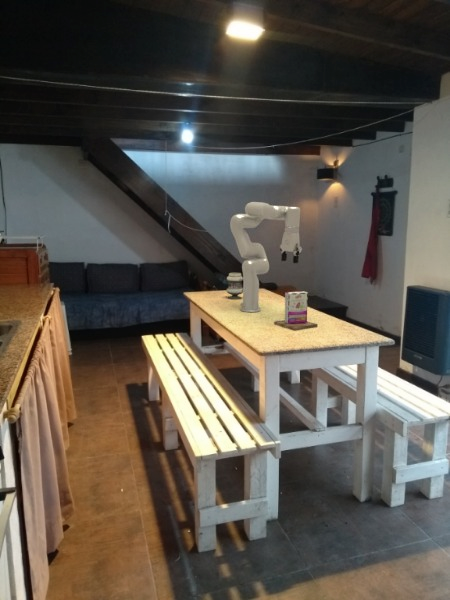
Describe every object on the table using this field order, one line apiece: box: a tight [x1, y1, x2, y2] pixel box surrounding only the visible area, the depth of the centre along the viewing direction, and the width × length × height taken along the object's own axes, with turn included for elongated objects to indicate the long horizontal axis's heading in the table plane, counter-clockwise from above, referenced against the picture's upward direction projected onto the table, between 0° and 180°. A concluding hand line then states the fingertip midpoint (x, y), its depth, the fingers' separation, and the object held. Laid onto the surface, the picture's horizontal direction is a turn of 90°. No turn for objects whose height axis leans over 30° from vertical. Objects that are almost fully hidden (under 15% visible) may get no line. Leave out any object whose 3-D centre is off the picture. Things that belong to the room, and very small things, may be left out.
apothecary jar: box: [226, 272, 243, 301], centre depth 312 cm, size 12×12×18 cm
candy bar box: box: [284, 291, 309, 324], centre depth 233 cm, size 11×5×16 cm, turn 108°
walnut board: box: [273, 319, 318, 331], centre depth 234 cm, size 16×16×2 cm
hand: (289, 261), depth 241 cm, fingers open, 9 cm apart
